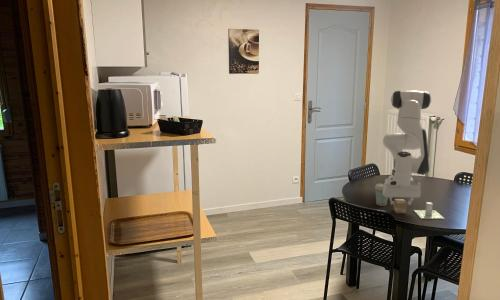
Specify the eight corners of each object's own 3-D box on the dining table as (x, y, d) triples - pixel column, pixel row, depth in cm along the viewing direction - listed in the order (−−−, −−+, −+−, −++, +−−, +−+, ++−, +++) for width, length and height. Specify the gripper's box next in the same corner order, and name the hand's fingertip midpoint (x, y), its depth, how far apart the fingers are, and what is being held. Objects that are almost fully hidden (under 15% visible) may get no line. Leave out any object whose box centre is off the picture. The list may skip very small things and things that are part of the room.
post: (413, 211, 215) (414, 199, 213) (435, 211, 214) (436, 199, 212) (421, 219, 203) (422, 206, 201) (444, 219, 202) (445, 206, 201)
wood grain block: (393, 209, 217) (394, 198, 216) (402, 209, 217) (403, 199, 215) (396, 213, 212) (397, 201, 210) (405, 213, 211) (406, 202, 210)
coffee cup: (390, 206, 222) (391, 187, 219) (375, 206, 223) (376, 186, 221) (387, 202, 230) (388, 183, 227) (373, 201, 231) (374, 182, 229)
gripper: (419, 179, 213) (417, 202, 215) (382, 179, 214) (381, 202, 216) (423, 182, 206) (421, 206, 209) (385, 182, 208) (384, 206, 210)
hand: (400, 204), depth 213 cm, fingers open, 8 cm apart
